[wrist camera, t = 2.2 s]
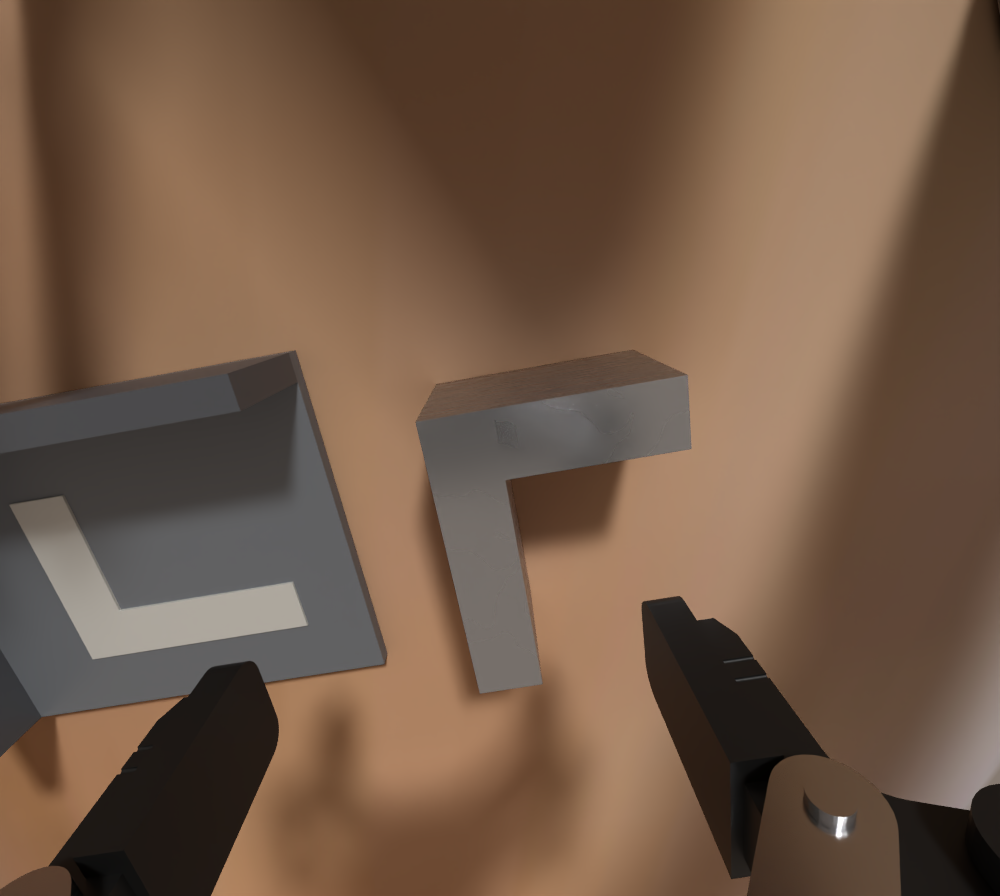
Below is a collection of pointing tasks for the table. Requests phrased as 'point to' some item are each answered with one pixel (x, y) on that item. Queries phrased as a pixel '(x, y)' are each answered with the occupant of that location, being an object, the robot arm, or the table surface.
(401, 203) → the table surface
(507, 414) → the l bracket
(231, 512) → the grey l-shaped slot base
